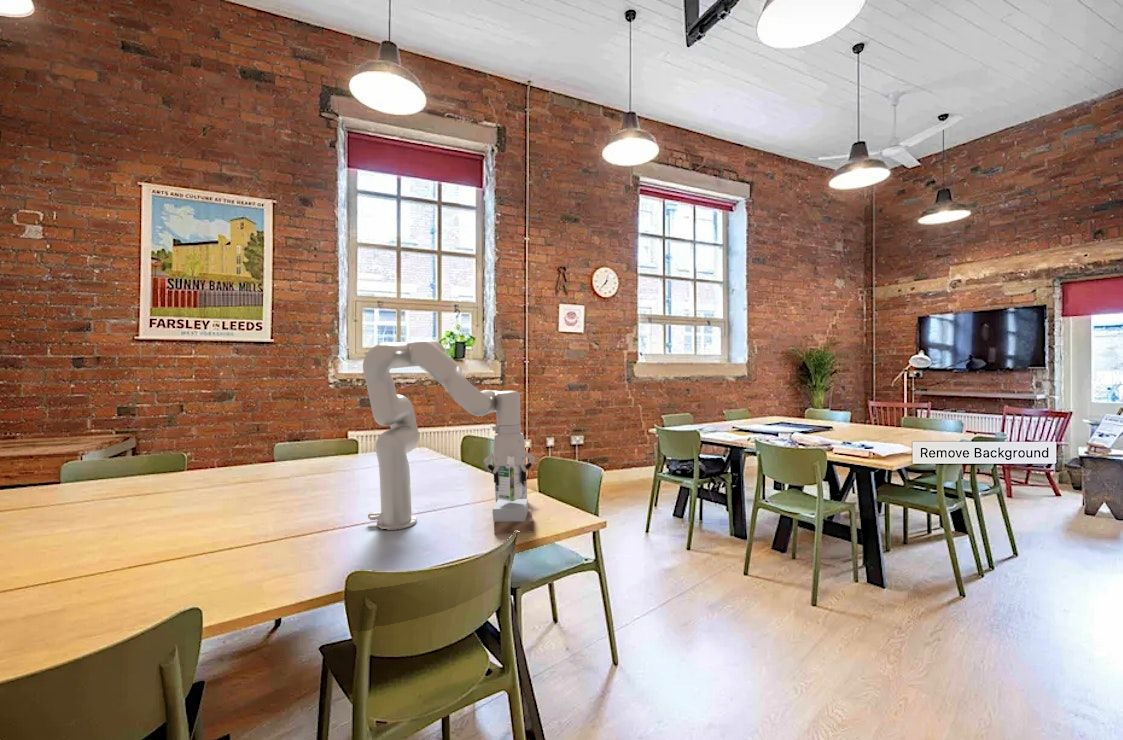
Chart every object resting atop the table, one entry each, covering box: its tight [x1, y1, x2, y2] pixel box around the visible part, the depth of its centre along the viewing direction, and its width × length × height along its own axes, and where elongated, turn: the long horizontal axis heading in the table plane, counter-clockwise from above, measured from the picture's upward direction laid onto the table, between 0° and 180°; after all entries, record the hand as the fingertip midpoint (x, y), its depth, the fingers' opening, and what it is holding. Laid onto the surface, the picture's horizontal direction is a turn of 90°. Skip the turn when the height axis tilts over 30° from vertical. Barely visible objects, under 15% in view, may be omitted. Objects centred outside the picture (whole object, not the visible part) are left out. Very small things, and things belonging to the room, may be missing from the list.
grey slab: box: [492, 498, 529, 523], centre depth 159 cm, size 10×10×4 cm
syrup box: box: [498, 455, 522, 502], centre depth 159 cm, size 6×6×14 cm
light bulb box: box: [494, 473, 528, 503], centre depth 182 cm, size 11×7×11 cm, turn 143°
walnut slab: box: [493, 508, 534, 535], centre depth 160 cm, size 12×12×4 cm
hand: (510, 483), depth 159 cm, fingers closed on syrup box, 7 cm apart
